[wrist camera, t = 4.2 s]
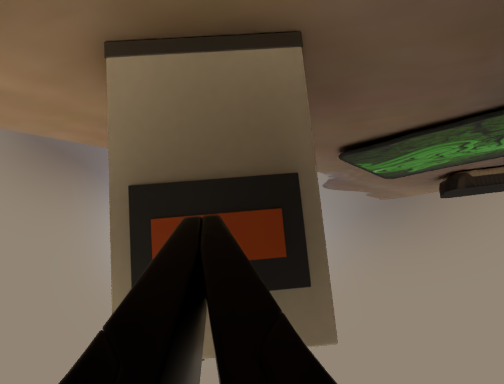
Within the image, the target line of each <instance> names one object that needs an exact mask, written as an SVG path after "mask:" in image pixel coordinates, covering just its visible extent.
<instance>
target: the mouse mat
mask: <svg viewBox="0 0 504 384" xmlns="http://www.w3.org/2000/svg"><path fill="white" fill-rule="evenodd" d="M499 157H504V110H500V111H497V112H493V113H487V114H483V115H480V116H476V117H472V118H468V119H465V120H462V121H458V122H455V123H451V124H446V125H442V126H438V127H435V128H430V129H426V130H422V131H418V132H414V133H411V134H408V135H404V136H401V137H398V138H395V139H392V140H389V141H385V142H382V143H378V144H375V145H371V146H367V147H363V148H358V149H354V150H349V151H345V152H343V153H341V154H340V155H339V159H341V160H343V161H345V162H347V163H349V164H352V165H354V166H356V167H359V168H361V169H364V170H366V171H368V172H371V173H373V174H375V175H378V176H380V177H382V178H385V179H395V178H400V177H405V176H410V175H414V174H418V173H423V172H427V171H433V170H437V169H442V168H447V167H452V166H458V165H463V164H468V163H473V162H478V161H483V160H488V159H494V158H499Z"/></svg>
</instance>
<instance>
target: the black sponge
mask: <svg viewBox="0 0 504 384" xmlns="http://www.w3.org/2000/svg"><path fill="white" fill-rule="evenodd" d="M502 191H504V166H503V167H495V168H487V169H479V170H471V171H463V172H457V173H454V174H452V175H450V176H449V177H448V178H447V180H445V181H443V182H442V183H440V186H439V192H440V197H441V198H453V197H461V196H469V195H476V194H485V193H493V192H502Z"/></svg>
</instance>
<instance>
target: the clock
mask: <svg viewBox="0 0 504 384" xmlns="http://www.w3.org/2000/svg"><path fill="white" fill-rule="evenodd" d="M302 47H303V44H302V35H301V32H286V33H267V34H249V35H230V36H211V37H192V38H173V39H155V40H136V41H117V42H105V43H104V50H105V59H106V66H107V110H108V150H109V151H108V153H109V197H110V242H111V283H112V284H111V287H112V314H113V313H114V311H115V310H116V309H117V307H118V306H119V305H120V303H121V302H122V301H123V299H124V298H125V296H126V295H127V294H128V292H129V291H130V290H131V288H132V287H133V286H134V284H135V283H136V282H137V280H138V279H139V278H140V276H141V275H142V273H143V272H144V271H145V269H146V268H147V267H148V265H149V264H150V263H151V261H152V260H153V259H154V257H155V256H156V255H157V253H158V252H159V251H160V249H161V248H162V246H163V245H164V244H165V242H166V241H167V240H168V238H169V237H170V236H171V234H172V233H173V232H174V230H175V229H176V228H177V226H178V225H179V223H180V222H181V221H182V219H183V218H185V217H192V216H200V217H201V218H202V217H203V216H205V215H219V216H220V217H221V218H222V220H223V221H224V223H225V224H226V226H227V227H228V229H229V230H230V232H231V233H232V235H233V236H234V238H235V240H236V241H237V243H238V244H239V246H240V247H241V249H242V250H243V252H244V253H245V255H246V256H247V258H248V259H249V261H250V262H251V264H252V265H253V267H254V269H255V270H256V272H257V273H258V275H259V276H260V278H261V279H262V281H263V282H264V284H265V285H266V287H267V288H268V290H269V291H270V293H271V294H272V296H273V297H274V299H275V301H276V302H277V304H278V305H279V307H280V308H281V310H282V313H284V314H285V315H286V317H287V319H288V320H289V322H290V323H291V325H292V326H293V328H294V329H295V330H296V332H297V333H298V335H299V336H300V338H301V339H302V340H303V342H304V343H305V345H306V346H307V347H308V348H309V347H318V346H327V345H335V344H337V343H338V341H337V332H336V324H335V316H334V308H333V300H332V291H331V283H330V275H329V267H328V259H327V251H326V242H325V234H324V226H323V218H322V210H321V202H320V195H319V185H318V178H317V169H316V161H315V153H314V145H313V137H312V128H311V120H310V112H309V104H308V96H307V88H306V80H305V71H304V63H303V55H302ZM208 358H215V351H214V345H213V339H212V332H211V326H210V320H209V313H208V306H207V313H206V324H205V334H204V344H203V354H202V361H203V360H204V359H208Z"/></svg>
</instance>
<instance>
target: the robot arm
mask: <svg viewBox="0 0 504 384" xmlns="http://www.w3.org/2000/svg"><path fill="white" fill-rule="evenodd" d="M207 306H208V313H209V320H210V326H211V332H212V339H213V345H214V351H215V358H216V364H217V370H218V377H219V383H220V384H337V383H336V382H335V381H334V379H333V378H332V377H331V376H330V375H329V374H328V372H327V371H326V370H325V369H324V367H323V366H322V365H321V364H320V362H319V361H318V360H317V359H316V358H315V357H314V355H313V354H312V352H311V351H310V350H309V349H308V347H307V346H306V345H305V343H304V342H303V340H302V339H301V338H300V336H299V335H298V333H297V332H296V330H295V329H294V328H293V326H292V325H291V323H290V322H289V320H288V319H287V317H286V315H285V314H284V313H282V310H281V308H280V307H279V305H278V304H277V302H276V301H275V299H274V297H273V296H272V294H271V293H270V291H269V290H268V288H267V287H266V285H265V284H264V282H263V281H262V279H261V278H260V276H259V275H258V273H257V272H256V270H255V269H254V267H253V265H252V264H251V262H250V261H249V259H248V258H247V256H246V255H245V253H244V252H243V250H242V249H241V247H240V246H239V244H238V243H237V241H236V240H235V238H234V236H233V235H232V233H231V232H230V230H229V229H228V227H227V226H226V224H225V223H224V221H223V220H222V218H221V217H220V216H219V215H205V216H203V217H202V218H201V217H200V216H192V217H185V218H183V219H182V221H181V222H180V223H179V225H178V226H177V228H176V229H175V230H174V232H173V233H172V234H171V236H170V237H169V238H168V240H167V241H166V242H165V244H164V245H163V246H162V248H161V249H160V251H159V252H158V253H157V255H156V256H155V257H154V259H153V260H152V261H151V263H150V264H149V265H148V267H147V268H146V269H145V271H144V272H143V273H142V275H141V276H140V278H139V279H138V280H137V282H136V283H135V284H134V286H133V287H132V288H131V290H130V291H129V292H128V294H127V295H126V296H125V298H124V299H123V301H122V302H121V303H120V305H119V306H118V307H117V309H116V310H115V311H114V313H113V314H112V315H111V317H110V318H109V320H108V321H107V322H106V324H105V325H104V326H103V330H101V331H99V333H98V334H97V335H96V337H95V338H94V340H93V341H92V342H91V344H90V345H89V346H88V348H87V349H86V350H85V352H84V353H83V354H82V355H81V357H80V358H79V359H78V360H77V362H76V363H75V364H74V366H73V367H72V368H71V369H70V371H69V372H68V373H67V374H66V375H65V377H64V378H63V379H62V380H61V381H60V383H59V384H199V383H200V373H201V362H202V354H203V344H204V334H205V324H206V313H207Z"/></svg>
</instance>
